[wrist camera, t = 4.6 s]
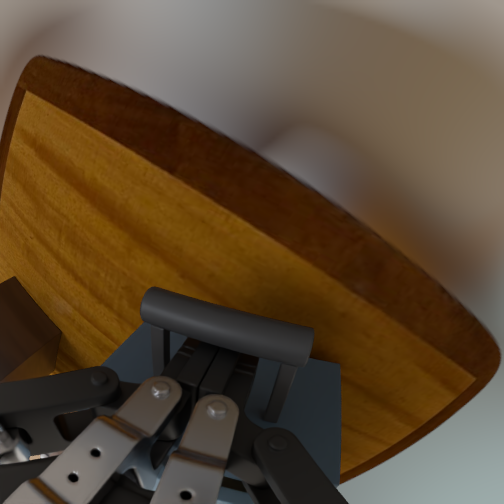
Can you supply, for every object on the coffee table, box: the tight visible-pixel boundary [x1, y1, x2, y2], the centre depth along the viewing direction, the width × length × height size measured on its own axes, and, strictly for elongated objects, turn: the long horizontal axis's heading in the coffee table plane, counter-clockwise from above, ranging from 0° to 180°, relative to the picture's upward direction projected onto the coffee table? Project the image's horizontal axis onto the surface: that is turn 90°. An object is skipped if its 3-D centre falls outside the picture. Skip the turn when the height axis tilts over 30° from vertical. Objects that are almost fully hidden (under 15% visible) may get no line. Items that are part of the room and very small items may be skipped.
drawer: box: [80, 287, 341, 493], centre depth 14 cm, size 18×11×8 cm, turn 171°
